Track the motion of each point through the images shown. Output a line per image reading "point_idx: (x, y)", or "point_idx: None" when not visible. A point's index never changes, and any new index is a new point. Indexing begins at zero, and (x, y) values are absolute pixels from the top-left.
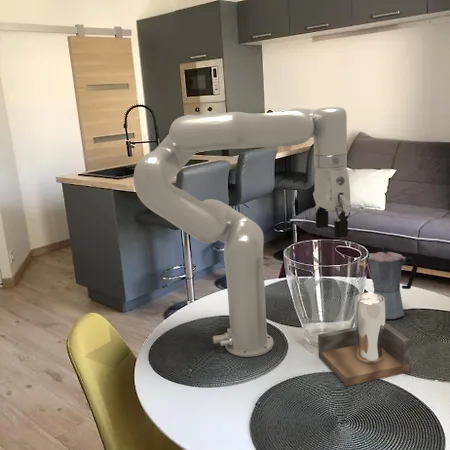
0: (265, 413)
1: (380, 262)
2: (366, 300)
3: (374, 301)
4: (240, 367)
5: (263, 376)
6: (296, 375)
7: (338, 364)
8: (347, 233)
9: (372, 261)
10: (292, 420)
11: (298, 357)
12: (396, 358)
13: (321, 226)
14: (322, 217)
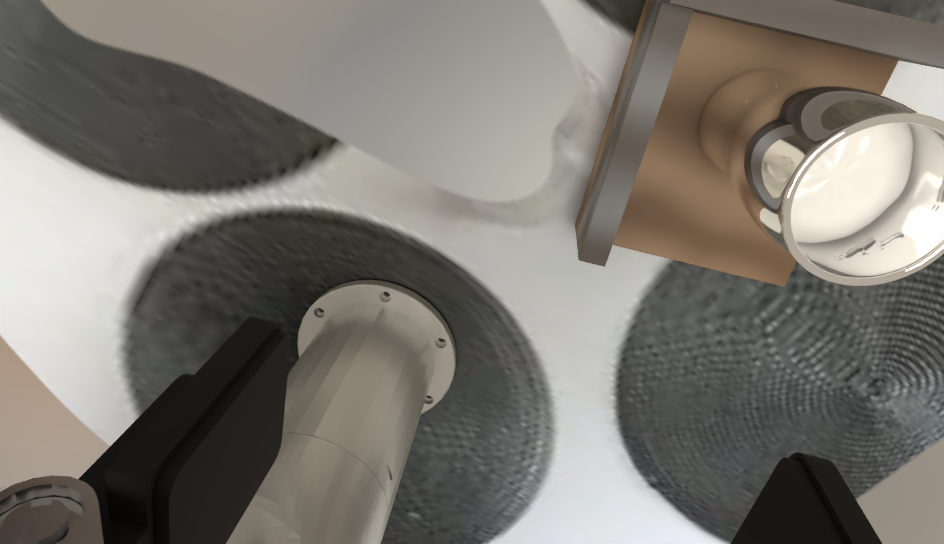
0: (700, 491)
1: None
2: (788, 146)
3: (830, 112)
4: (479, 429)
5: (559, 411)
6: (618, 344)
7: (704, 250)
8: (839, 481)
9: None
10: (771, 466)
11: (535, 278)
12: (853, 49)
13: (281, 419)
14: (220, 500)
